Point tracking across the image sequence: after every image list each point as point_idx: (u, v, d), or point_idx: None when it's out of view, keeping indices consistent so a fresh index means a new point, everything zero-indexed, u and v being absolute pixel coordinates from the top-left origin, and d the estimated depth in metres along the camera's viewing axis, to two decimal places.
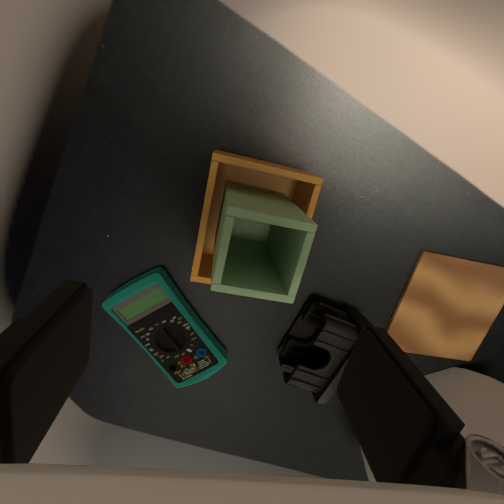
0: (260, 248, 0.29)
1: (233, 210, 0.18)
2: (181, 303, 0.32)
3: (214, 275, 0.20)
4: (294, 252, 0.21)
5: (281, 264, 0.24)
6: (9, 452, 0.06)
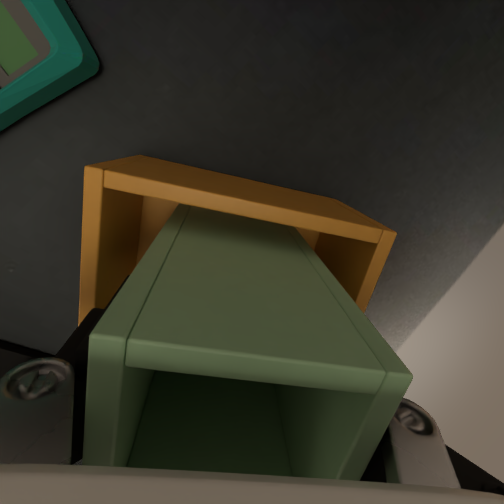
0: None
1: (397, 390, 0.06)
2: (2, 114, 0.13)
3: (162, 347, 0.05)
4: None
5: (171, 406, 0.10)
6: None
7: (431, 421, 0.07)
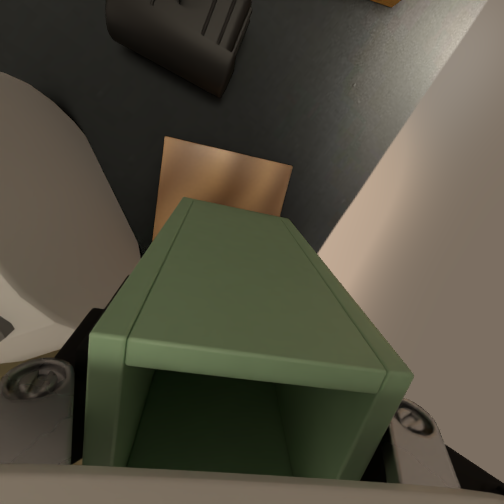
0: None
1: (398, 390, 0.06)
2: None
3: (163, 346, 0.05)
4: None
5: (171, 406, 0.10)
6: None
7: (431, 421, 0.07)
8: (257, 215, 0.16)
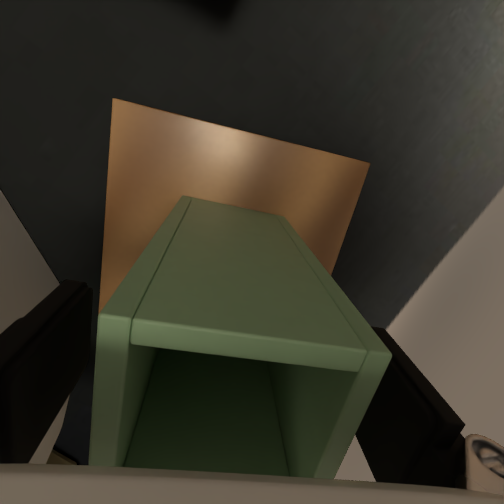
0: None
1: (378, 368, 0.06)
2: None
3: (164, 327, 0.06)
4: (225, 461, 0.09)
5: (171, 392, 0.11)
6: (9, 452, 0.06)
7: None
8: (253, 213, 0.16)
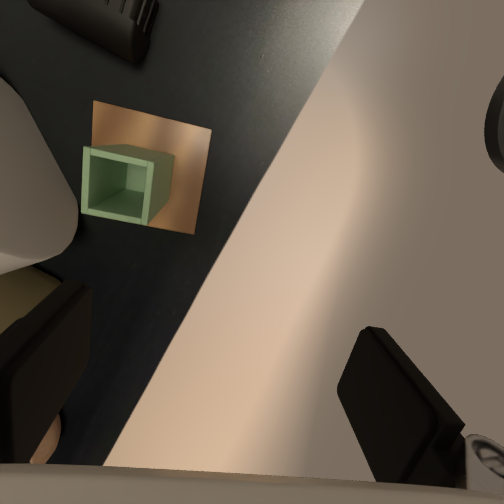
0: (120, 184, 0.35)
1: (151, 166, 0.27)
2: None
3: (97, 150, 0.26)
4: (123, 211, 0.29)
5: (111, 202, 0.31)
6: (9, 452, 0.06)
7: None
8: (157, 151, 0.36)
